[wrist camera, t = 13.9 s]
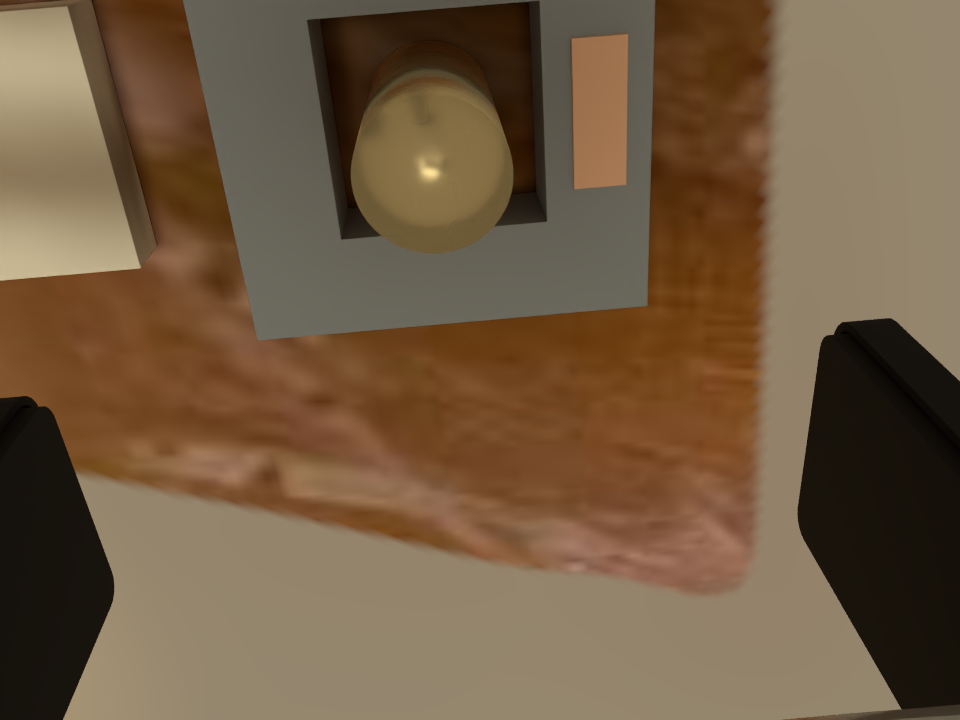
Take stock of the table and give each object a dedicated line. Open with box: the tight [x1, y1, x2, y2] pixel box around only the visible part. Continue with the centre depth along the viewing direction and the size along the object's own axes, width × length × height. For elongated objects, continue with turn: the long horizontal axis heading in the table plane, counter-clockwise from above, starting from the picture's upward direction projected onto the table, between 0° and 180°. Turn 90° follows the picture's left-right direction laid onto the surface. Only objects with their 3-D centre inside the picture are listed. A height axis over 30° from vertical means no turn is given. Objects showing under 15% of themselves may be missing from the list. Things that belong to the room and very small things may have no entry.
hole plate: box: [183, 0, 655, 340], centre depth 27 cm, size 13×13×3 cm
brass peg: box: [351, 40, 514, 254], centre depth 25 cm, size 4×4×8 cm
